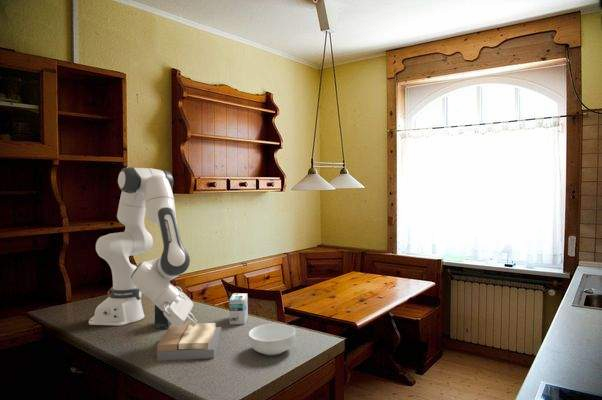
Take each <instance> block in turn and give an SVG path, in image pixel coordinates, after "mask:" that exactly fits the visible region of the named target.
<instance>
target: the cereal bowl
mask: <svg viewBox="0 0 602 400" xmlns="http://www.w3.org/2000/svg"><path fill="white" fill-rule="evenodd" d="M296 337H297V335H296V329H295V328H294V327H293V326H291V325H289V324H288V325H287V324H283V323H266V324H261V325H259V326H255V327H253V328H252V329H250V330H249V332H248V342H249V345H250V347H251V348H252V349H253V350H254V351H256V352H258V353H261V354H263V355H266V356H277V355H280V354H283V353H284V352H286V351H288V350H290V348H292V346H293V345H294V344H295V341H296Z"/></svg>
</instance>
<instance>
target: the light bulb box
mask: <svg viewBox="0 0 602 400" xmlns="http://www.w3.org/2000/svg"><path fill="white" fill-rule="evenodd" d="M248 295H249V294H248V293H244V292H243V293H239V292H238V293H237V292H235V293H232V295H231V297H230V298H229V302H228V303H229V304H228V305H229V325H245V324H246V322H247V320H248V318H249V313H248V312H249V310H248V309H249V307H248V305H249V303H248V302H249V301H248V299H249V297H248Z"/></svg>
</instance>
